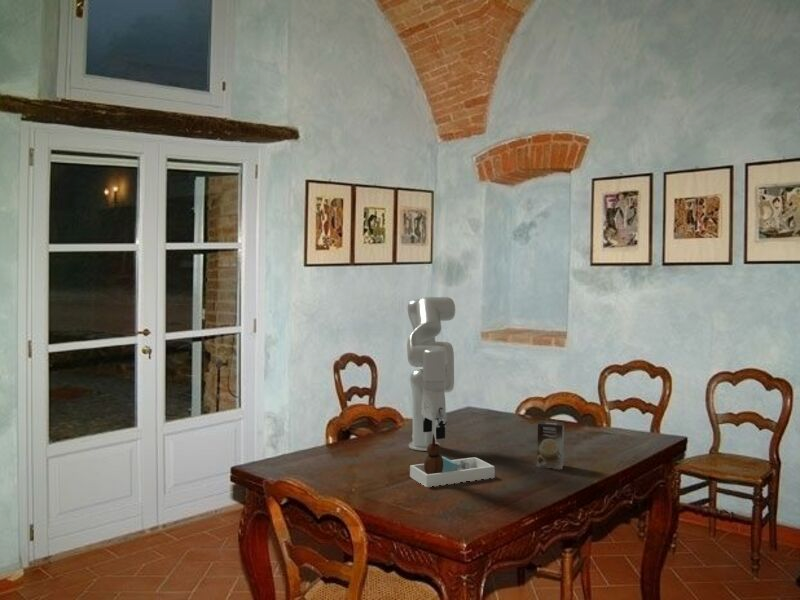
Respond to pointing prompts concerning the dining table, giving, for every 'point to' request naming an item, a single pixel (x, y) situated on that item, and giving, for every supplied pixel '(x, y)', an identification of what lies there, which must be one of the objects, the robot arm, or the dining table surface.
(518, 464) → the dining table surface
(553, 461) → the coffee box
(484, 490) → the dining table surface
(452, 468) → the pusher paddle
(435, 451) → the wooden figurine
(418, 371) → the robot arm
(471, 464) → the lane
